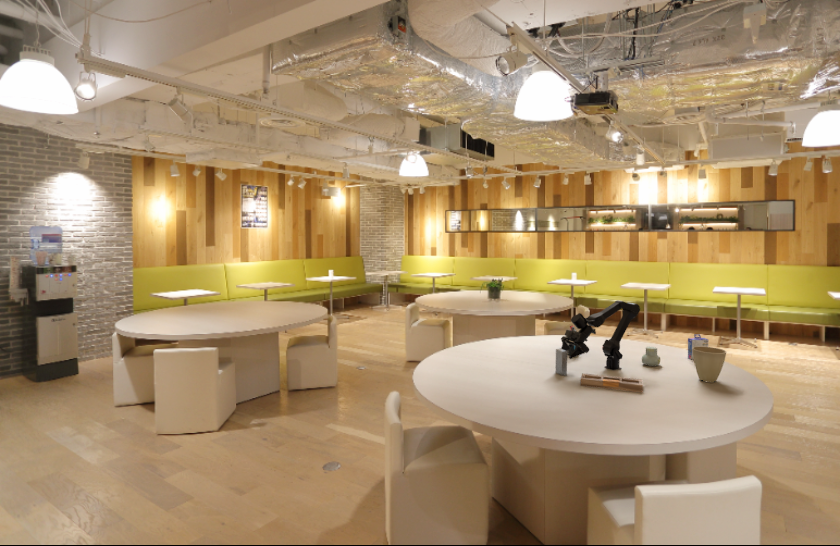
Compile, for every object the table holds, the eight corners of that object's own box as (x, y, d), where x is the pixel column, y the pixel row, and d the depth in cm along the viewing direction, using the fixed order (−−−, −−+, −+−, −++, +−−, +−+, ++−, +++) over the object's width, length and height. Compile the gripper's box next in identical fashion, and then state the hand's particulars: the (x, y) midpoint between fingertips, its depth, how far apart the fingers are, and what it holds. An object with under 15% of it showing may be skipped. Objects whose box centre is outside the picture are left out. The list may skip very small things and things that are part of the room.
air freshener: (656, 368, 273) (657, 350, 272) (640, 365, 278) (641, 348, 277) (660, 364, 281) (661, 346, 281) (645, 361, 286) (646, 344, 285)
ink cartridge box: (703, 357, 295) (704, 333, 294) (708, 360, 289) (709, 335, 288) (686, 357, 295) (687, 333, 294) (691, 360, 289) (692, 335, 288)
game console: (579, 357, 297) (580, 333, 296) (568, 356, 299) (569, 333, 298) (575, 346, 325) (575, 325, 324) (565, 346, 326) (565, 324, 325)
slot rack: (582, 380, 252) (582, 372, 252) (641, 386, 241) (642, 378, 241) (580, 385, 243) (580, 378, 242) (642, 392, 232) (642, 384, 232)
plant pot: (721, 386, 240) (722, 354, 238) (687, 380, 250) (689, 350, 248) (727, 379, 251) (729, 349, 249) (695, 374, 261) (696, 344, 259)
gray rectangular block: (560, 372, 266) (560, 348, 265) (566, 375, 261) (567, 351, 260) (555, 372, 266) (555, 349, 265) (561, 375, 260) (562, 351, 259)
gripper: (564, 321, 272) (546, 342, 270) (584, 327, 254) (565, 350, 252) (576, 334, 275) (558, 355, 273) (597, 341, 257) (578, 364, 255)
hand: (564, 356), depth 263 cm, fingers open, 9 cm apart
